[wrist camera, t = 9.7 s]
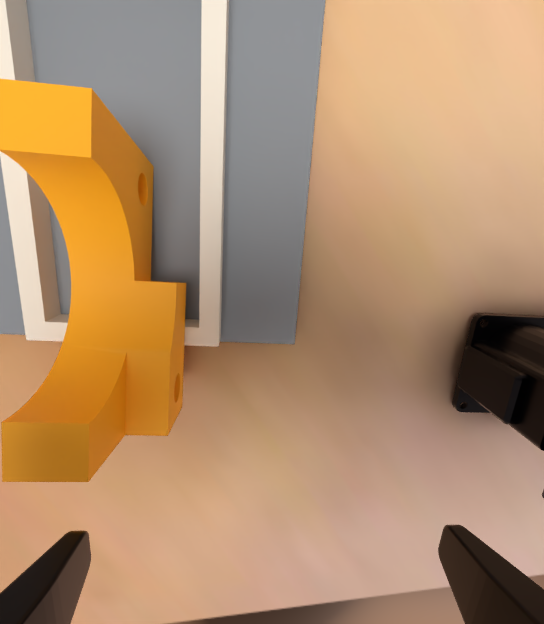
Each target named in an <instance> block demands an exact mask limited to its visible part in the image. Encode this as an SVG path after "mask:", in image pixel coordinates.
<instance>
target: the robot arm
mask: <svg viewBox="0 0 544 624" xmlns="http://www.w3.org/2000/svg"><path fill="white" fill-rule="evenodd" d="M482 320H483V323H482V324H481V325H480V322H481V321H482ZM462 402H463V404H462V405H460V404H461V403H462ZM452 405H453V407H454V408H455V409H457V410H458V411H459V412H481V413H492V414H493V415H494V416H496V417H497V418H498V419H499V420H501V421H502V422H503V423H505V424H509V425H510V426H511V427H512V428H514V429H515V430H516V431H518V432H519V433H520V434H521V435H523V436H524V437H525V438H527V439H528V440H529V441H530V442H532V443H533V444H534V445H536V446H537V447H538V448H539V449H541V450H543V451H544V316H527V315H505V314H483V313H481V314H477V315H475V316H474V317H473V319H472V322H471V326H470V330H469V334H468V338H467V343H466V347H465V350H464V355H463V359H462V363H461V367H460V371H459V376H458V380H457V385H456V389H455V393H454V397H453V402H452ZM542 497H543V498H544V490H543V493H542ZM438 553H439V558H440V561H441V563H442V566H443V569H444V571H445V574H446V576H447V579H448V581H449V584H450V587H451V589H452V592H453V594H454V597H455V599H456V602H457V605H458V607H459V610H460V612H461V614H462V617H463V620H464V622H465V624H544V590H543V589H542V588H541V587H540V586H539V585H537V584H536V583H535V582H534V581H532V580H531V579H530V578H528V577H527V576H526V575H525V574H523V573H522V572H521V571H520V570H518V569H517V568H516V567H514V566H513V565H512V564H511V563H509V562H508V561H507V560H505V559H504V558H503V557H502V556H500V555H499V554H498V553H497V552H495V551H494V550H493V549H491V548H490V547H489V546H488V545H486V544H485V543H484V542H482V541H481V540H480V539H479V538H477V537H476V536H475V535H474V534H472V533H471V532H470V531H468V530H467V529H466V528H465V527H463V526H461V525H446V526H445V527H444V529H443V532H442V536H441V540H440V544H439V548H438ZM90 562H91V551H90V542H89V534H88V532H87V531H70V532H68V533H66V534H65V535H64V536H63V537H62V538H61V539H60V540H59V541H57V542H56V543H55V544H54V545H53V546H52V547H51V548H50V549H49V550H47V551H46V552H45V553H44V554H43V555H42V556H41V557H40V558H39V559H38V560H36V561H35V562H34V563H33V564H32V565H31V566H30V567H29V568H28V569H26V570H25V571H24V572H23V573H22V574H21V575H20V576H19V577H18V578H17V579H15V580H14V581H13V582H12V583H11V584H10V585H9V586H8V587H7V588H5V589H4V590H3V591H2V592H1V593H0V624H70V623H71V620H72V617H73V614H74V611H75V609H76V606H77V603H78V600H79V597H80V594H81V591H82V588H83V585H84V582H85V579H86V576H87V573H88V570H89V567H90Z"/></svg>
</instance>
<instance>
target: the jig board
mask: <svg viewBox="0 0 544 624" xmlns="http://www.w3.org/2000/svg"><path fill="white" fill-rule="evenodd" d="M324 9H325V0H0V79H9V80H19V81H28V82H38V83H47V84H57V85H66V86H76V87H85V88H92V89H93V91H94V92H95V93H96V94H97V96H98V97H99V98H100V99H101V101H102V102H103V103H104V104H105V106H106V107H107V108H108V110H109V111H110V112H111V113H112V115H113V116H114V117H115V118H116V120H117V121H118V122H119V123H120V125H121V126H122V127H123V129H124V130H125V131H126V132H127V134H128V135H129V136H130V137H131V139H132V140H133V141H134V142H135V144H136V145H137V146H138V148H139V149H140V150H141V151H142V153H143V154H144V155H145V156H146V158H147V159H148V160H149V161H150V163H151V164H152V165H153V167H154V169H153V209H152V250H151V281H162V282H180V283H186V309H185V338H184V345H185V346H214V347H219V342H245V343H273V344H295V334H296V323H297V312H298V300H299V289H300V278H301V267H302V256H303V244H304V233H305V222H306V211H307V200H308V188H309V177H310V166H311V155H312V144H313V132H314V121H315V110H316V99H317V88H318V76H319V65H320V54H321V43H322V32H323V20H324ZM70 304H71V271H70V262H69V256H68V251H67V246H66V242H65V239H64V235H63V232H62V229H61V226H60V224H59V221H58V219H57V216H56V214H55V212H54V210H53V208H52V206H51V204H50V202H49V200H48V199H47V197H46V196H45V194H44V193H43V191H42V190H41V188H40V187H39V186H38V184H37V183H36V182H35V180H34V179H33V178H32V177H31V176H30V175H29V174H28V173H27V172H26V171H25V170H24V169H23V168H22V167H21V166H20V165H19V164H18V163H17V162H15V161H14V160H13V159H11V158H10V157H9V156H7V155H6V154H4V153H2V152H1V151H0V334H18V335H26V340H37V341H63V340H64V336H65V333H66V329H67V324H68V319H69V313H70Z"/></svg>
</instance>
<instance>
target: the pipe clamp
mask: <svg viewBox="0 0 544 624" xmlns="http://www.w3.org/2000/svg"><path fill="white" fill-rule="evenodd" d="M0 151H1V152H2V153H4V154H6V155H7V156H9V157H10V158H11V159H13V160H14V161H15V162H17V163H18V164H19V165H20V166H21V167H22V168H23V169H24V170H25V171H26V172H27V173H28V174H29V175H30V176H31V177H32V178H33V179H34V180H35V182H36V183H37V184H38V186H39V187H40V188H41V190H42V191H43V193H44V194H45V196H46V197H47V199H48V200H49V202H50V204H51V206H52V208H53V210H54V212H55V214H56V216H57V219H58V221H59V224H60V226H61V229H62V232H63V235H64V239H65V242H66V246H67V251H68V256H69V262H70V271H71V304H70V313H69V319H68V324H67V329H66V333H65V336H64V340H63V343H62V346H61V349H60V351H59V354H58V356H57V358H56V361H55V363H54V365H53V367H52V369H51V371H50V372H49V374H48V376H47V377H46V379H45V381H44V382H43V384H42V385H41V386H40V388H39V389H38V390H37V392H36V393H35V394H34V395H33V396H32V397H31V399H30V400H29V401H28V402H27V403H26V404H25V405H24V406H23V407H22V408H20V409H19V410H18V411H17V412H15V413H14V414H13V415H12V416H10V417H9V418H7V419H6V420H4V421H3V422H2V482H89V480H90V479H91V478H92V477H93V475H94V474H95V473H96V472H97V470H98V469H99V468H100V466H101V465H102V464H103V463H104V461H105V460H106V459H107V457H108V456H109V455H110V454H111V452H112V451H113V450H114V448H115V447H116V446H117V445H118V443H119V442H120V441H121V439H122V438H123V437H124V436H125V435H156V436H168V434H169V432H170V430H171V428H172V426H173V424H174V422H175V420H176V418H177V416H178V414H179V412H180V410H181V408H182V397H183V368H184V338H185V309H186V283H180V282H162V281H151V250H152V209H153V169H154V167H153V165H152V164H151V163H150V161H149V160H148V159H147V158H146V156H145V155H144V154H143V153H142V151H141V150H140V149H139V148H138V146H137V145H136V144H135V142H134V141H133V140H132V139H131V137H130V136H129V135H128V134H127V132H126V131H125V130H124V129H123V127H122V126H121V125H120V123H119V122H118V121H117V120H116V118H115V117H114V116H113V115H112V113H111V112H110V111H109V110H108V108H107V107H106V106H105V104H104V103H103V102H102V101H101V99H100V98H99V97H98V96H97V94H96V93H95V92H94V91H93V89H92V88H85V87H76V86H66V85H57V84H47V83H38V82H28V81H19V80H9V79H0Z"/></svg>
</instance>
